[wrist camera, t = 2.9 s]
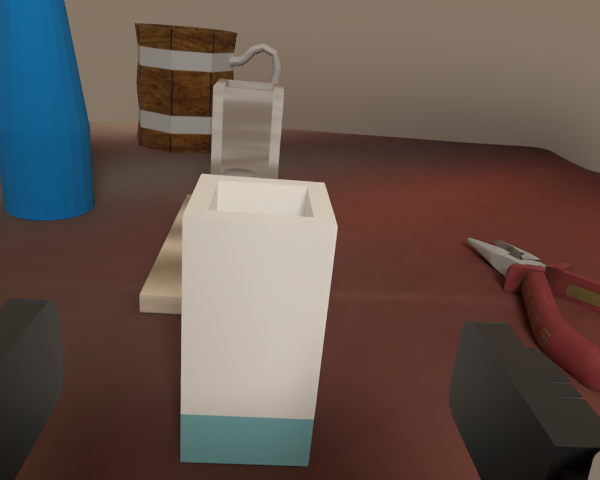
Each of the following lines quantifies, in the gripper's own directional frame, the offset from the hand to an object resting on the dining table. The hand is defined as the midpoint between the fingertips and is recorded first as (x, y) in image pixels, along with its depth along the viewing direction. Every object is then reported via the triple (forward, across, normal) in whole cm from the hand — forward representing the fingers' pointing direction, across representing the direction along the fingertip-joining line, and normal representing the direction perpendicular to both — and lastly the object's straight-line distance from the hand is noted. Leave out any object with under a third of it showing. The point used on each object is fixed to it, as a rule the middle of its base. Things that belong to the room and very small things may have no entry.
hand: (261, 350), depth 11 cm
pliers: (+25, -23, +12) cm, 36 cm away
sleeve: (+12, 0, +11) cm, 16 cm away
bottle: (+39, +19, +11) cm, 44 cm away
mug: (+68, +9, +11) cm, 69 cm away
